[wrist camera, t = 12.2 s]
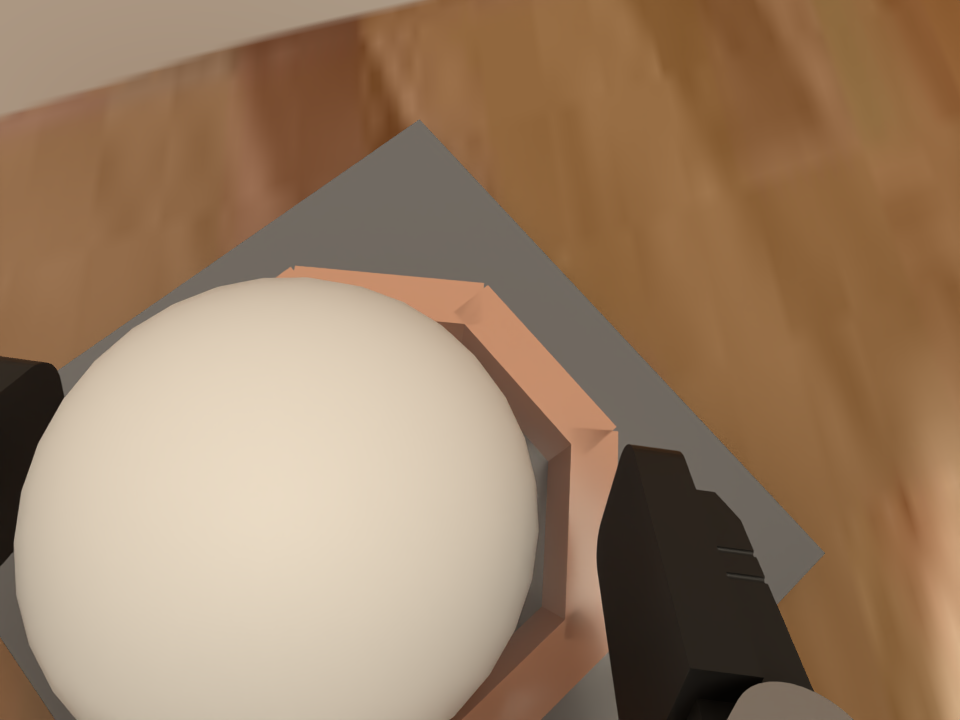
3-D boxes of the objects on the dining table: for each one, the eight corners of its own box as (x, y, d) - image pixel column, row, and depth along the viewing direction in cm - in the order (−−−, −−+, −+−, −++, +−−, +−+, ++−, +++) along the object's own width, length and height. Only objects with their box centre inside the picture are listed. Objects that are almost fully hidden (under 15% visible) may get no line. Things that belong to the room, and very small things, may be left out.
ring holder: (419, 131, 20) (416, 45, 17) (811, 553, 18) (905, 554, 14) (-85, 484, 17) (-222, 468, 13) (314, 1078, 14) (275, 1254, 10)
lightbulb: (220, 451, 17) (-189, 283, 6) (454, 376, 17) (450, 111, 7) (281, 707, 15) (-119, 1068, 5) (534, 614, 16) (687, 744, 5)
